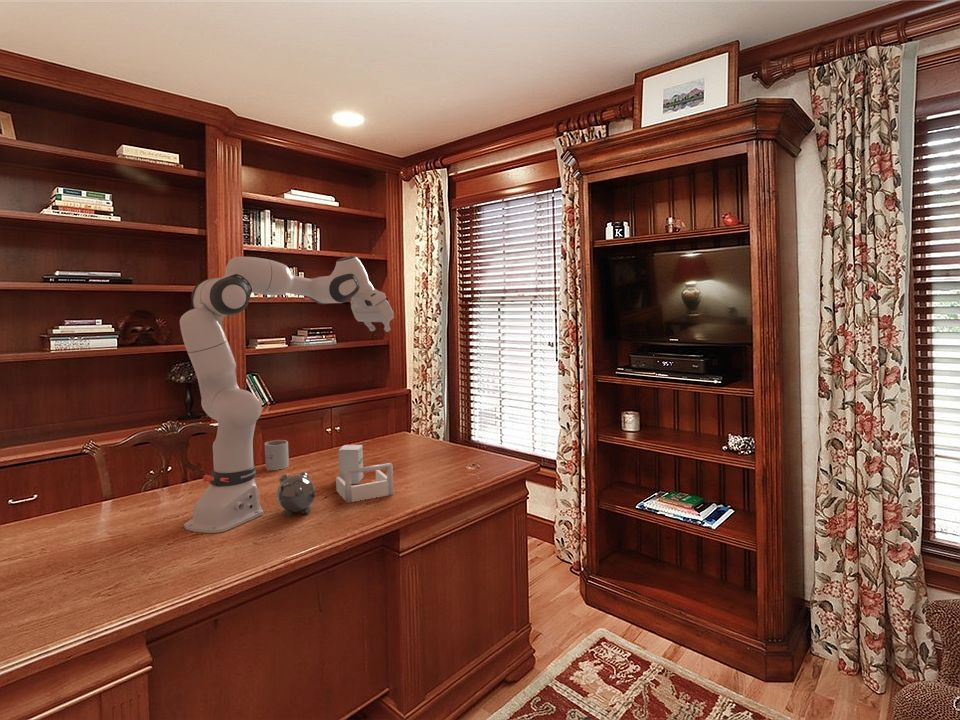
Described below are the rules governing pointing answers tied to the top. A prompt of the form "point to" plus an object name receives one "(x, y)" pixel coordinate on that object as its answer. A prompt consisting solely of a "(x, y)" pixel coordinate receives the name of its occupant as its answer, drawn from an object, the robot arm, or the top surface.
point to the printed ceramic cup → (276, 455)
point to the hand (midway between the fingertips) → (380, 330)
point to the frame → (367, 490)
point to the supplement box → (351, 461)
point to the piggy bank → (296, 493)
